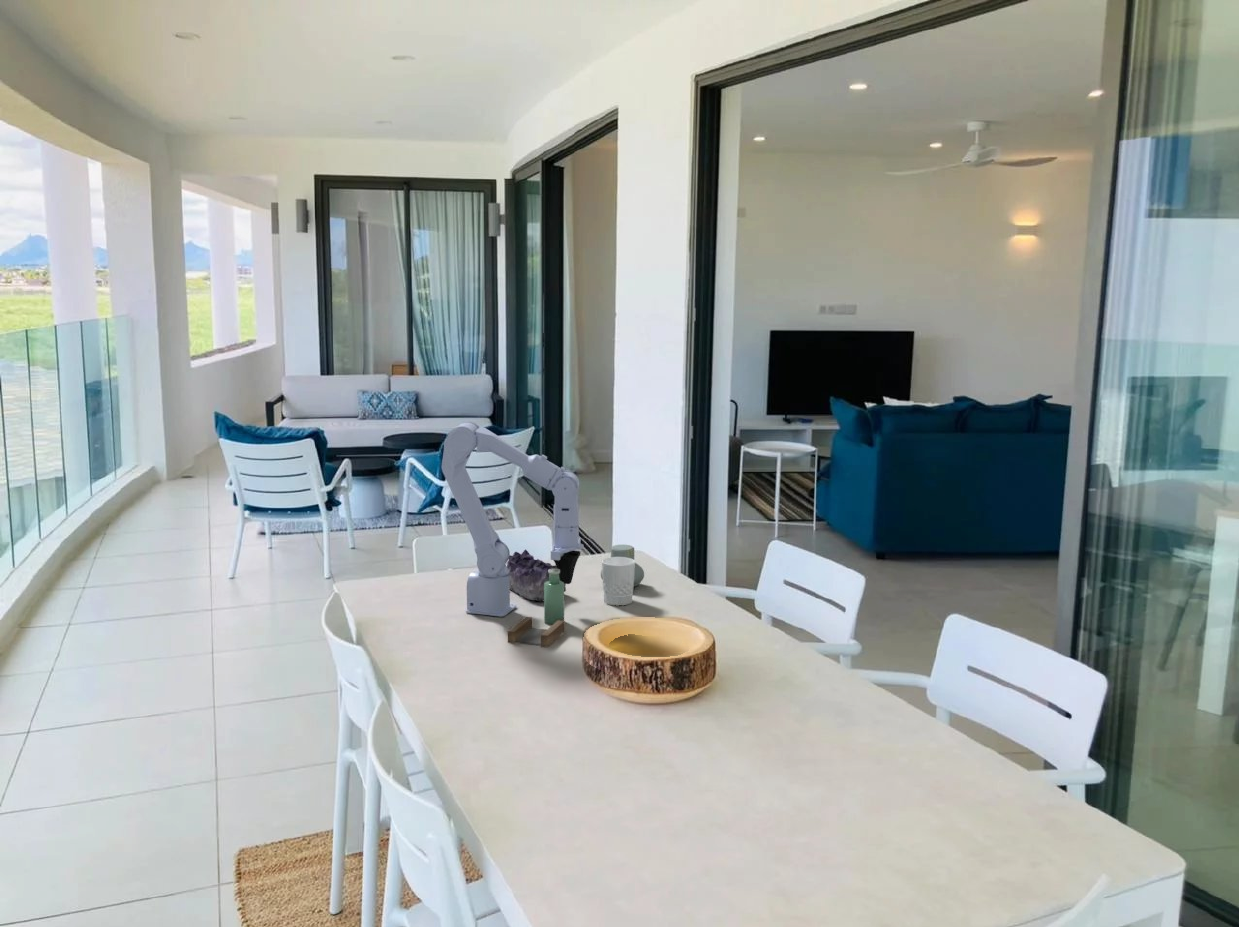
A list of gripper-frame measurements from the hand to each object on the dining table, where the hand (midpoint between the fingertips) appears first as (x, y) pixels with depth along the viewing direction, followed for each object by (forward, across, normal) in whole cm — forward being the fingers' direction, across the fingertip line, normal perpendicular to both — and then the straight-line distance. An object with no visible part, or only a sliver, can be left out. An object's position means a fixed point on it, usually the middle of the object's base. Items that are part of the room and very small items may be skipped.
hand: (566, 582), depth 232 cm
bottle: (+7, -8, 0) cm, 10 cm away
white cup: (+7, +11, -9) cm, 16 cm away
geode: (+7, +12, +14) cm, 20 cm away
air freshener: (+7, +24, -6) cm, 26 cm away
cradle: (+7, -18, 0) cm, 19 cm away
